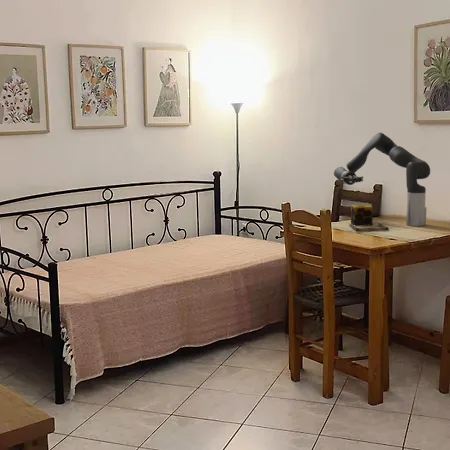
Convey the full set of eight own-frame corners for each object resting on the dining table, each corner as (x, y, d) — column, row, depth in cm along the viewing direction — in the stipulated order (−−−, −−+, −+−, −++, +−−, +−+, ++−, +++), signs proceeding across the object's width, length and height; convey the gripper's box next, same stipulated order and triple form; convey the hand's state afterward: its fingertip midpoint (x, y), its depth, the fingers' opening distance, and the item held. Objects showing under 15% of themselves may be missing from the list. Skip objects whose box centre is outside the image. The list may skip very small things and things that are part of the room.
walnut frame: (380, 225, 366) (380, 222, 366) (388, 230, 351) (388, 227, 351) (349, 226, 365) (349, 223, 365) (356, 231, 350) (356, 228, 350)
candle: (372, 225, 368) (373, 206, 366) (353, 225, 368) (353, 207, 366) (369, 222, 378) (369, 204, 376) (350, 222, 378) (350, 204, 376)
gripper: (336, 171, 399) (343, 173, 382) (360, 170, 400) (368, 173, 383) (336, 184, 400) (343, 187, 383) (360, 184, 401) (367, 187, 384)
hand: (355, 180), depth 383 cm, fingers closed
